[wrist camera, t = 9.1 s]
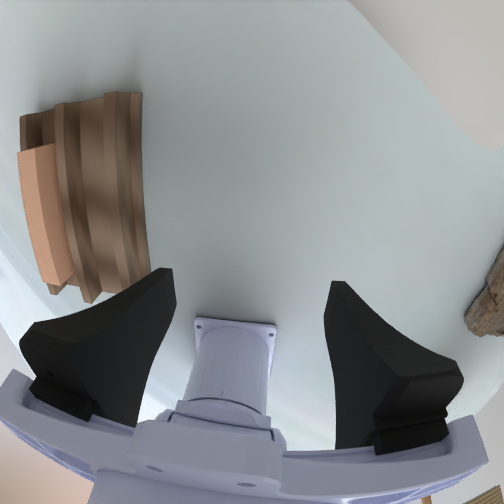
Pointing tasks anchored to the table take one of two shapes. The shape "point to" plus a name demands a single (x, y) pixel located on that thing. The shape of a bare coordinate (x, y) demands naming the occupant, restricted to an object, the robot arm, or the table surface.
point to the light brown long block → (45, 213)
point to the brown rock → (489, 304)
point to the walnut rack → (98, 188)
